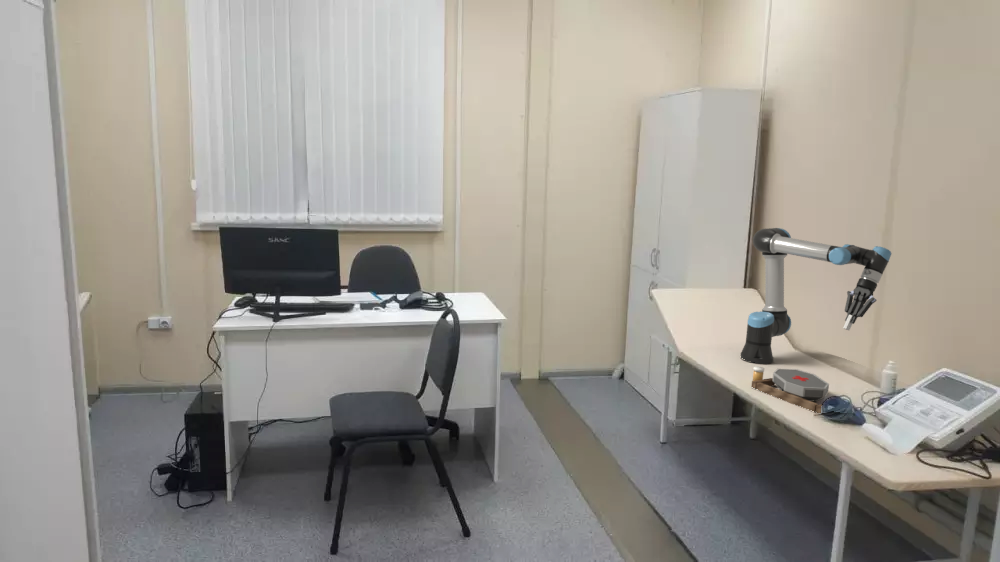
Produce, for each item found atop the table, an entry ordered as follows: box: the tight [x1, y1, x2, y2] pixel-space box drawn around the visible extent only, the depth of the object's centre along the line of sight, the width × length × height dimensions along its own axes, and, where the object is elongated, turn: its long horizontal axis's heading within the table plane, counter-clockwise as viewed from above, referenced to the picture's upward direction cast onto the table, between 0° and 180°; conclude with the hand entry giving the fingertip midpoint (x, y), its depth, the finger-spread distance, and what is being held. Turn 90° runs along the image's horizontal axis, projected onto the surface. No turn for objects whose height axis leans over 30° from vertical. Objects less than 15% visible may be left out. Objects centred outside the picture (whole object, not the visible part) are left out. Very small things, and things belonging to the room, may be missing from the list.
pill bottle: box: [752, 366, 765, 381], centre depth 283 cm, size 4×4×7 cm
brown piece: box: [750, 377, 823, 414], centre depth 266 cm, size 33×12×3 cm, turn 28°
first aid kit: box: [772, 368, 830, 402], centre depth 271 cm, size 18×8×25 cm
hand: (846, 329), depth 289 cm, fingers closed
